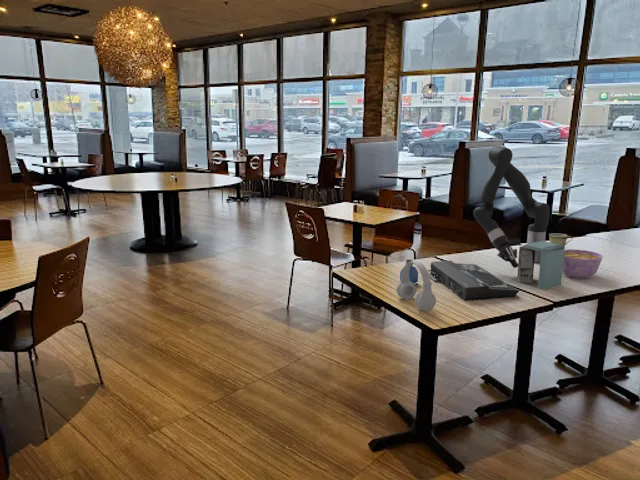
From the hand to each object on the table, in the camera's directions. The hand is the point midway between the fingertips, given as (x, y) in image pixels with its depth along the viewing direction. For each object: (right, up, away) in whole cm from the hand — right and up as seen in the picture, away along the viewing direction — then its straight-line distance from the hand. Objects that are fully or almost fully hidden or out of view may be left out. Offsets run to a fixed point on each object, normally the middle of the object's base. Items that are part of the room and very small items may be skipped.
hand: (516, 266), depth 245 cm
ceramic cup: (+46, +7, +49) cm, 67 cm away
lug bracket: (+8, -8, -11) cm, 15 cm away
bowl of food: (+31, -5, 0) cm, 31 cm away
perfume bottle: (-55, -8, -6) cm, 56 cm away
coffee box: (+3, -6, -4) cm, 8 cm away
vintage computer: (-27, -9, -9) cm, 30 cm away
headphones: (-58, -15, -33) cm, 68 cm away
